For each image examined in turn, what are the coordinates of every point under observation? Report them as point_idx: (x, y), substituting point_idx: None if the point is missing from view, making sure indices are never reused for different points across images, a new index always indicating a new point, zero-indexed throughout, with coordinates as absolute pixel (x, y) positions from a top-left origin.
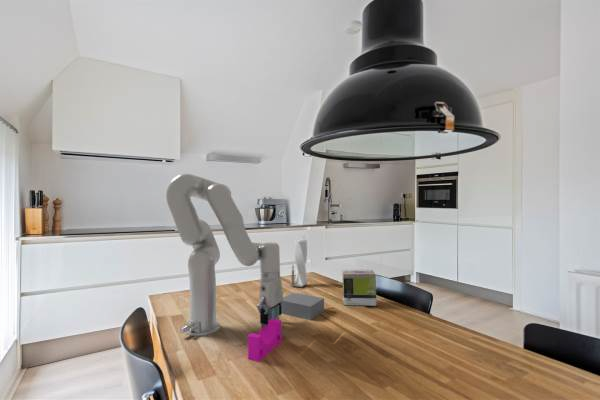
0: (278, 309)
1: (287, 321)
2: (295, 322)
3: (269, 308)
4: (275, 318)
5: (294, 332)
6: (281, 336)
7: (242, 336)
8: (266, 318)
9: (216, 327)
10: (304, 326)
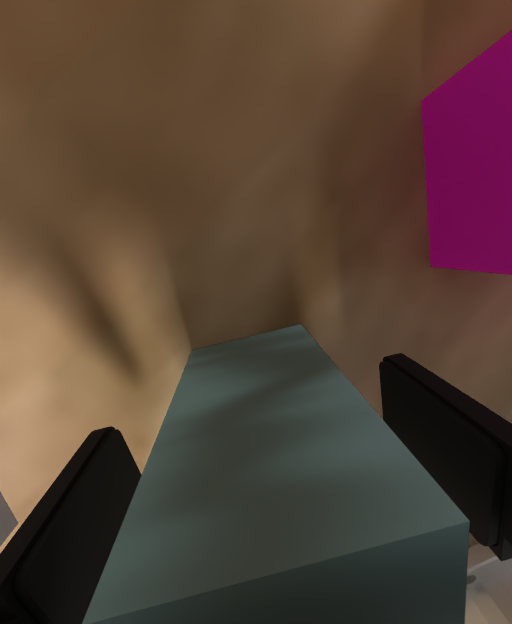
0: (157, 488)
1: (76, 354)
2: (25, 280)
3: (453, 588)
4: (259, 380)
5: (205, 116)
6: (461, 70)
7: (487, 402)
8: (454, 401)
9: (488, 570)
10: (8, 123)
